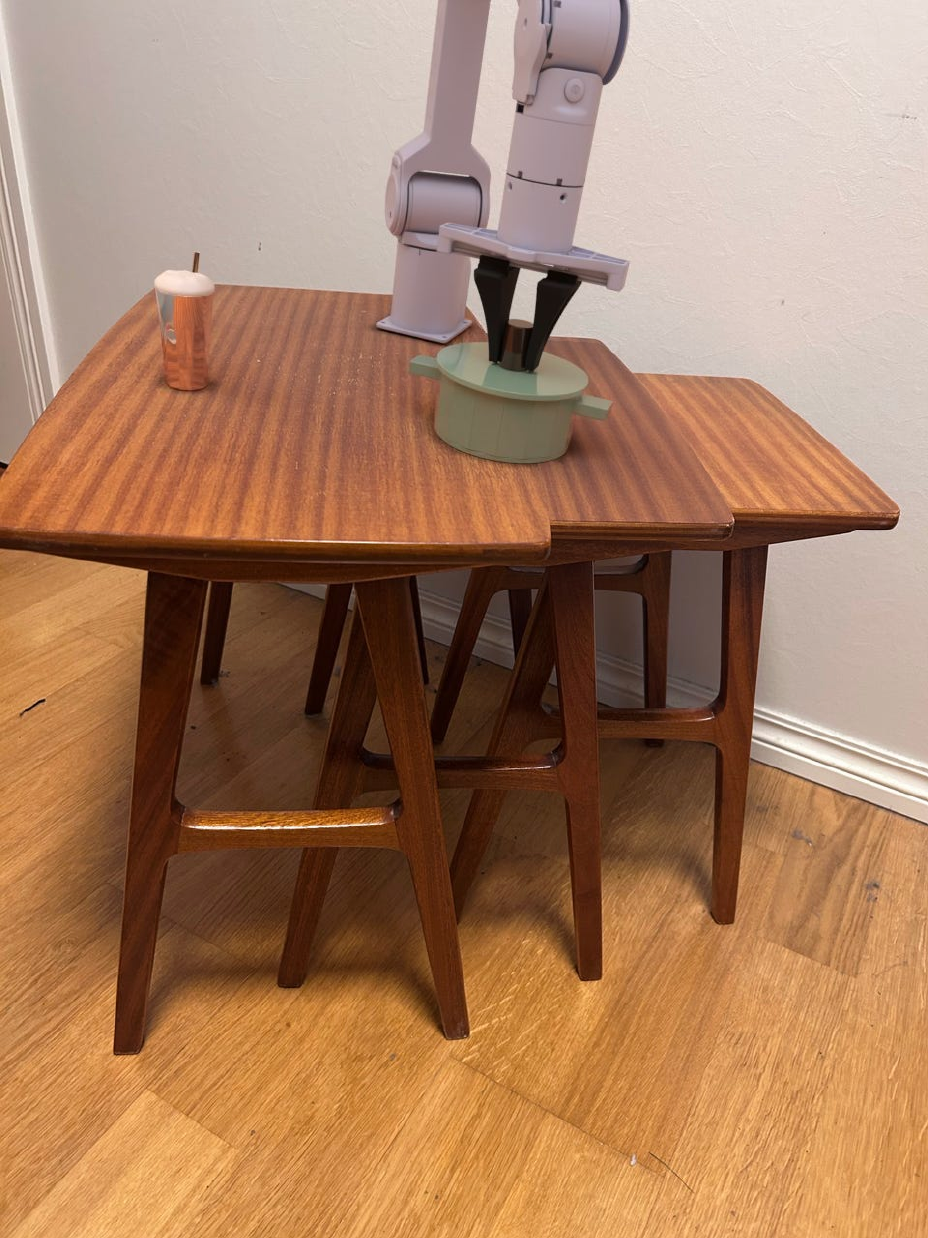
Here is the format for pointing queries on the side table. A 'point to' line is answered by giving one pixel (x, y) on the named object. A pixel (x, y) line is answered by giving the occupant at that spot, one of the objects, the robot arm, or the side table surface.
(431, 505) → the side table surface
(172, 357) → the milkshake
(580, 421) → the side table surface
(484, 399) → the green cooking pot
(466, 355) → the pot lid
